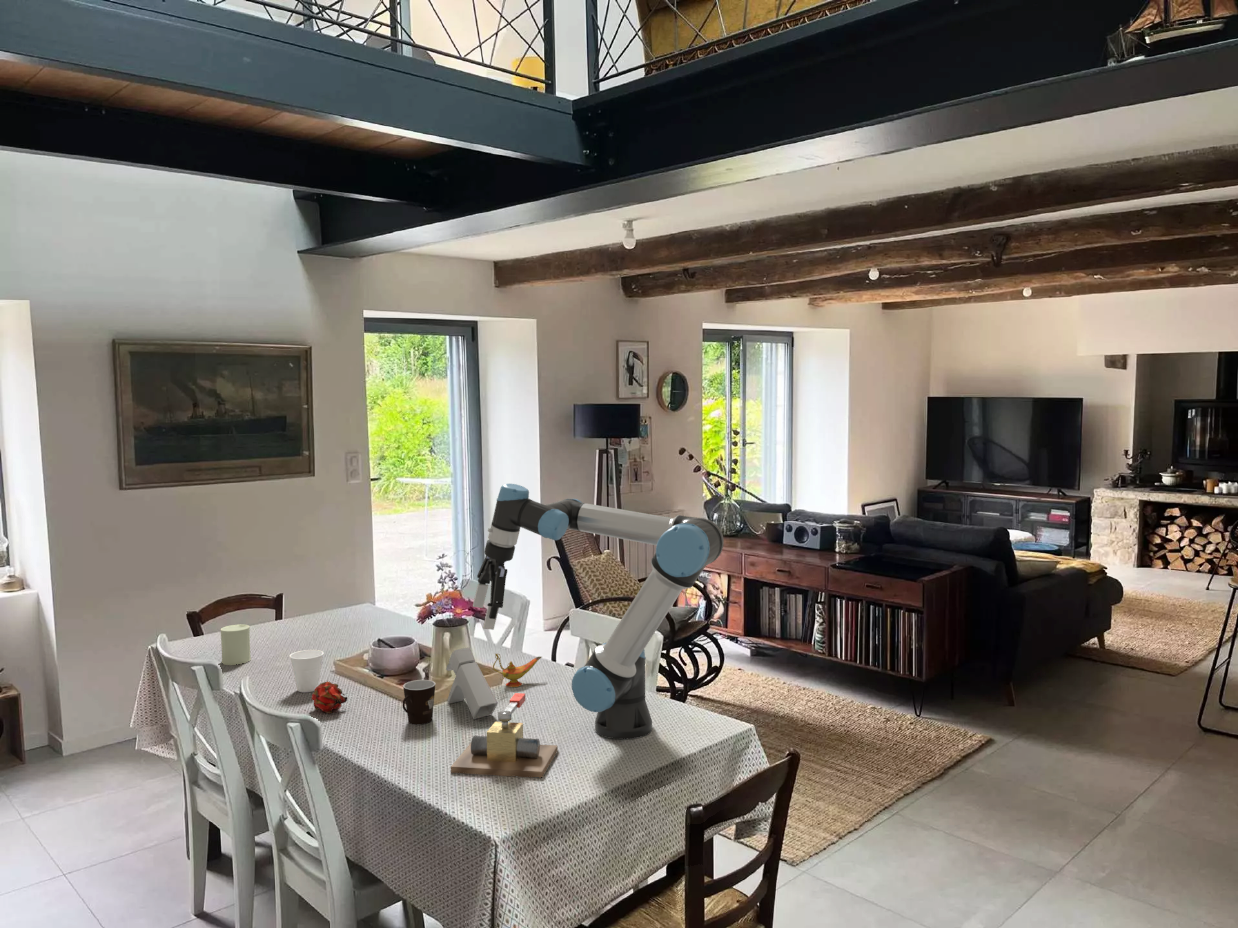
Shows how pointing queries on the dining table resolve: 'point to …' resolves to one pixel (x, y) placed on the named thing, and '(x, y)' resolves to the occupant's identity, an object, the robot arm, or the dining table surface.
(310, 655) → the cup
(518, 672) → the magic lamp
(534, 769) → the valve board
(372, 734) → the dining table surface
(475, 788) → the dining table surface
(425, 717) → the coffee mug
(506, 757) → the ball valve
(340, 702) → the dragon fruit
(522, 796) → the dining table surface
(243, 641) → the can
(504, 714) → the valve lever
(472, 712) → the grey a-frame
